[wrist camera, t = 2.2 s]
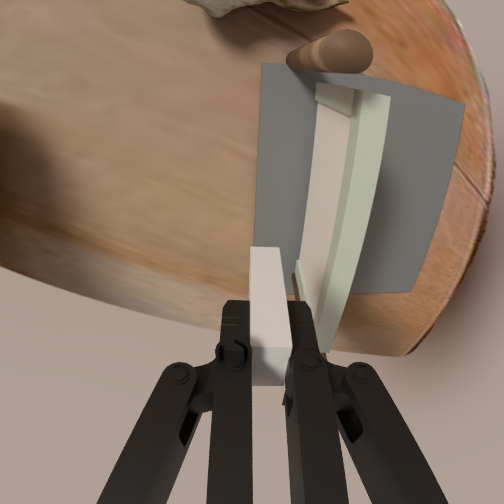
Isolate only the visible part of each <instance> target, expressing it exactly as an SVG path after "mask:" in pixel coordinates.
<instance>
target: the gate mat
mask: <svg viewBox="0 0 504 504" xmlns="http://www.w3.org/2000/svg"><path fill="white" fill-rule="evenodd" d="M316 82H319V83H327V84H334V85H340V86H345V87H351V88H356V89H360V90H365V91H370V92H374V93H378V94H382V95H386V96H390V97H391V99H390V107H389V115H388V122H387V129H386V135H385V141H384V147H383V153H382V159H381V164H380V170H379V175H378V180H377V185H376V190H375V194H374V199H373V204H372V208H371V212H370V217H369V221H368V225H367V229H366V233H365V237H364V241H363V245H362V249H361V253H360V256H359V260H358V264H357V267H356V271H355V274H354V278H353V281H352V285H351V288H350V291H349V294H350V293H394V292H411V291H412V289H413V286H414V284H415V281H416V279H417V277H418V274H419V272H420V269H421V267H422V264H423V261H424V259H425V256H426V253H427V251H428V248H429V245H430V242H431V240H432V237H433V234H434V231H435V228H436V225H437V222H438V219H439V215H440V212H441V209H442V206H443V202H444V199H445V195H446V192H447V188H448V185H449V181H450V177H451V173H452V169H453V165H454V160H455V156H456V152H457V147H458V142H459V137H460V132H461V126H462V120H463V114H464V108H465V104H463V103H460V102H457V101H455V100H452V99H449V98H446V97H443V96H440V95H437V94H434V93H431V92H427V91H424V90H421V89H417V88H414V87H410V86H407V85H403V84H399V83H395V82H391V81H387V80H382V79H378V78H373V77H369V76H364V75H359V74H344V73H312V72H295V71H293V70H291V69H290V68H289V67H288V65H285V64H271V63H262V74H261V95H260V117H259V139H258V160H257V181H256V203H255V224H254V245H253V247H279V249H280V256H281V263H282V270H283V278H284V285H285V292H286V294H294V288H293V283H292V277H291V276H292V274H293V272H295V267H296V260H299V257H300V250H301V243H302V236H303V229H304V222H305V215H306V207H307V199H308V191H309V183H310V175H311V166H312V157H313V148H314V138H315V128H316V118H317V107H318V101H317V100H315V94H316Z"/></svg>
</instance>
